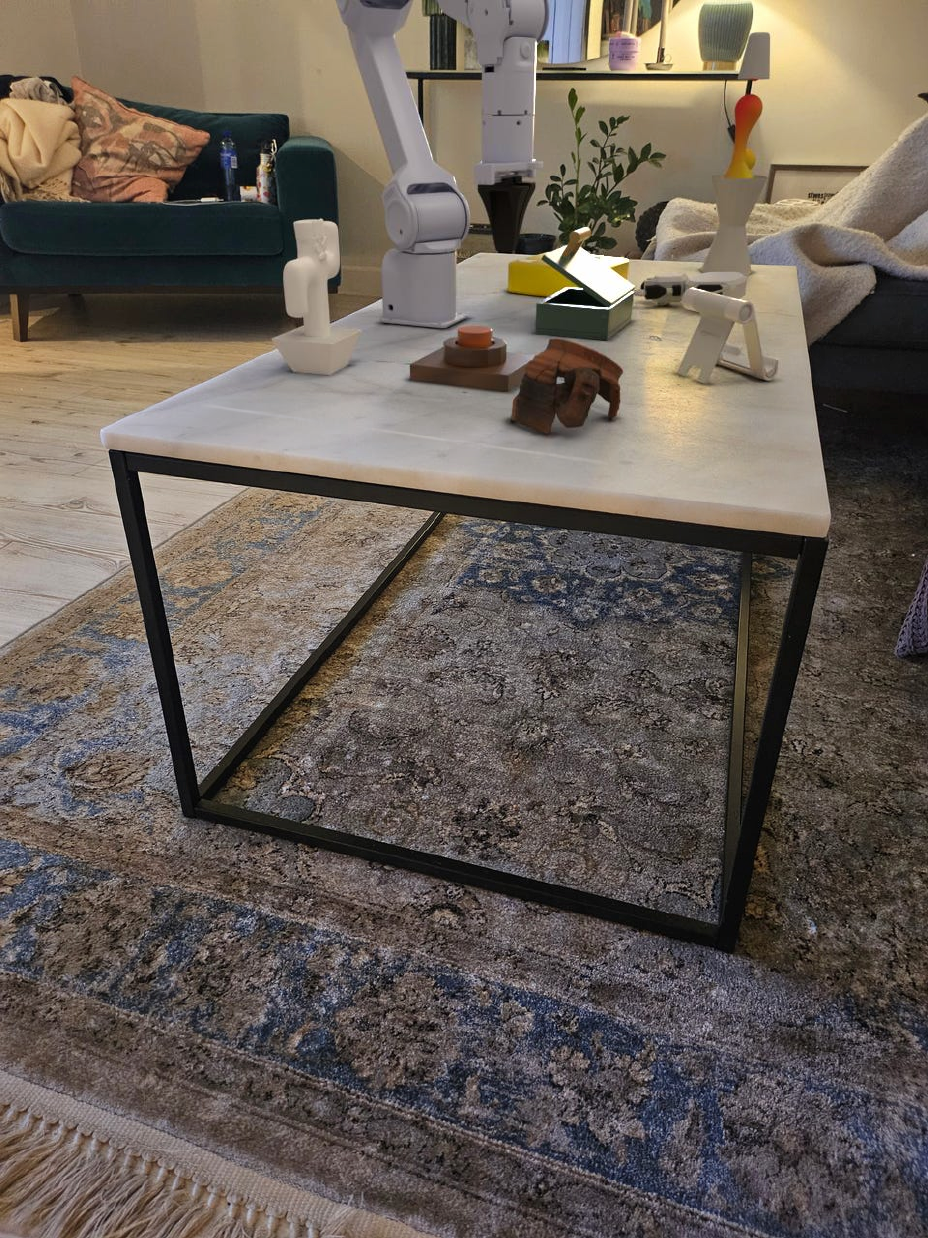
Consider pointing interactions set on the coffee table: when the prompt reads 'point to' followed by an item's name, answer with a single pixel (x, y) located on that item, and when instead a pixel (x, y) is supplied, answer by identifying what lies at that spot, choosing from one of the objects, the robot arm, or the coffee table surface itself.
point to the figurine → (314, 303)
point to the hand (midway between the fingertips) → (505, 250)
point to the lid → (588, 270)
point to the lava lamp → (740, 171)
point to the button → (474, 336)
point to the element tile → (550, 275)
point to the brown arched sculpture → (565, 386)
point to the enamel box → (581, 315)
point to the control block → (472, 366)
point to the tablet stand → (724, 337)
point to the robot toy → (692, 285)
